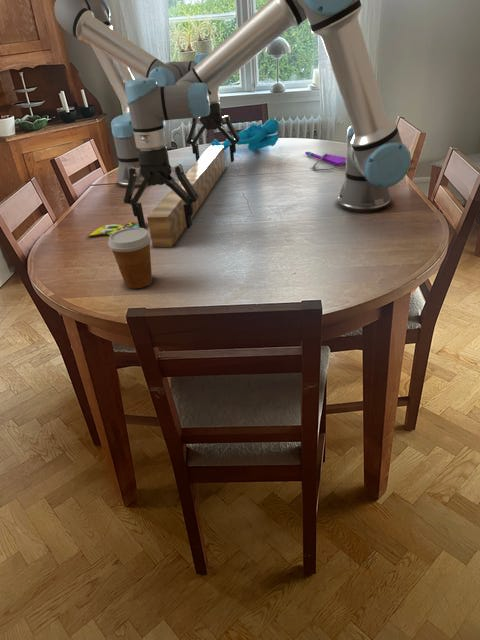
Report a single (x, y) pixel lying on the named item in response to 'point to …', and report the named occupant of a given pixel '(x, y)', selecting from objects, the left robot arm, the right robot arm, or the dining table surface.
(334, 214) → the dining table surface
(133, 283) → the disposable coffee cup
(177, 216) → the post
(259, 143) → the toy
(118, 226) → the toy
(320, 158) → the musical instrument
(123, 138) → the left robot arm
